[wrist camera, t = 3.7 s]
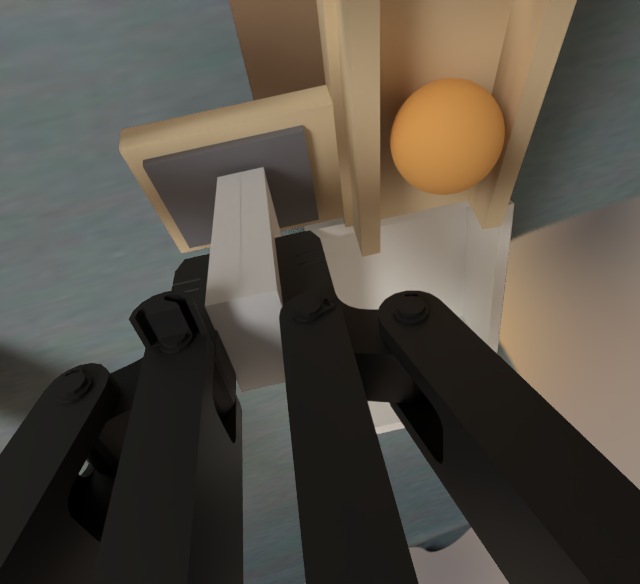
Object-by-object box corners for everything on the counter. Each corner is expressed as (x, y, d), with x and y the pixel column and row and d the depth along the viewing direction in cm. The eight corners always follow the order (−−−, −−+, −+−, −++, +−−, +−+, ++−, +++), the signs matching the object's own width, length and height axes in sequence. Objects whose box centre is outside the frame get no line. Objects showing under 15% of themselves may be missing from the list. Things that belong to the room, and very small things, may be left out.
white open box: (299, 207, 23) (318, 290, 17) (476, 168, 23) (551, 238, 17) (330, 346, 29) (351, 439, 24) (468, 315, 29) (521, 401, 24)
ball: (454, 230, 13) (420, 200, 16) (549, 147, 12) (495, 131, 15) (382, 148, 11) (358, 131, 14) (483, 48, 11) (437, 52, 13)
